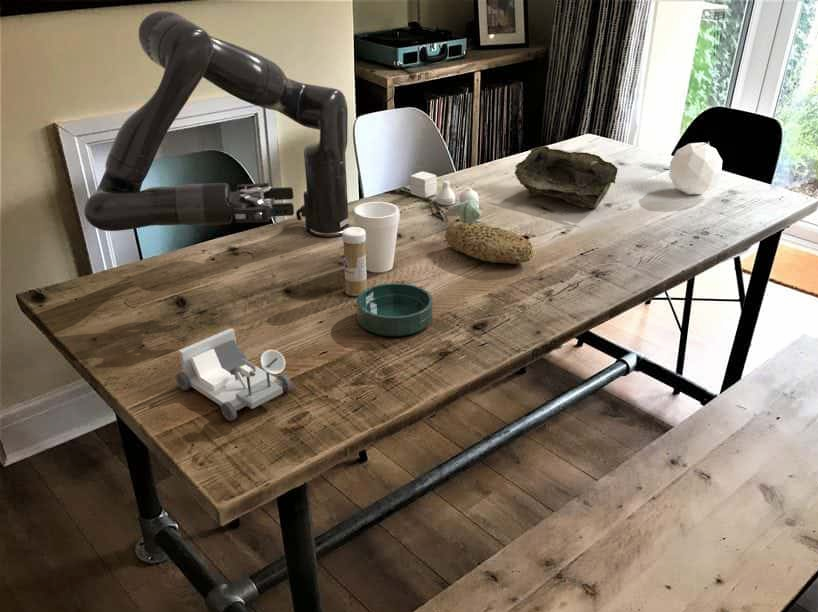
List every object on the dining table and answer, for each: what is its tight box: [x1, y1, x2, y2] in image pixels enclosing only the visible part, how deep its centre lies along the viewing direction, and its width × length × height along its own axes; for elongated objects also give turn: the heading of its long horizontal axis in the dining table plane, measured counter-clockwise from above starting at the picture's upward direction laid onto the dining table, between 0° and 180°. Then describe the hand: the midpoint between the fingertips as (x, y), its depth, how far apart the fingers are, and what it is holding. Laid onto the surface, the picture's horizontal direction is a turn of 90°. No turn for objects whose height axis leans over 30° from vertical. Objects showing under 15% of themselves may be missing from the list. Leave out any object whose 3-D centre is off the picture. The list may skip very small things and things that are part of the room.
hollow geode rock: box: [514, 145, 619, 210], centre depth 207 cm, size 28×13×15 cm
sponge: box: [444, 221, 535, 264], centre depth 176 cm, size 13×8×20 cm
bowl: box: [356, 282, 434, 337], centre depth 150 cm, size 14×14×4 cm
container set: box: [409, 171, 480, 209], centre depth 205 cm, size 20×5×6 cm, turn 54°
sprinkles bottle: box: [341, 226, 368, 297], centre depth 157 cm, size 5×5×14 cm
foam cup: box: [353, 201, 401, 273], centre depth 168 cm, size 10×9×13 cm
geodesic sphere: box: [669, 141, 723, 195], centre depth 215 cm, size 15×14×14 cm
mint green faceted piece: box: [452, 200, 483, 224], centre depth 191 cm, size 8×4×7 cm, turn 56°
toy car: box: [175, 327, 293, 422], centre depth 126 cm, size 18×10×12 cm
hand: (293, 200), depth 148 cm, fingers open, 8 cm apart
